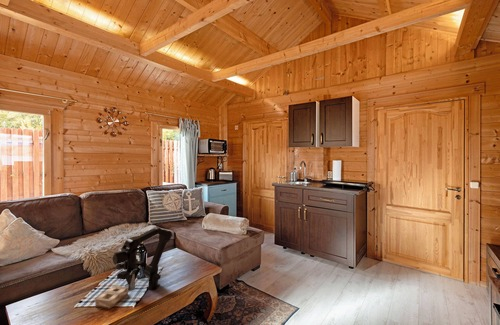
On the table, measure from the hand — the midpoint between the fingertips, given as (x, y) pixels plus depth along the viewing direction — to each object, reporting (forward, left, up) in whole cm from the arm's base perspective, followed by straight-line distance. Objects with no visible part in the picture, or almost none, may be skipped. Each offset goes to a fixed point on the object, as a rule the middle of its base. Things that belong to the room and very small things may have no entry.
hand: (131, 282), depth 153 cm
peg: (0, 0, -4) cm, 4 cm away
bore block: (+5, -10, -10) cm, 15 cm away
